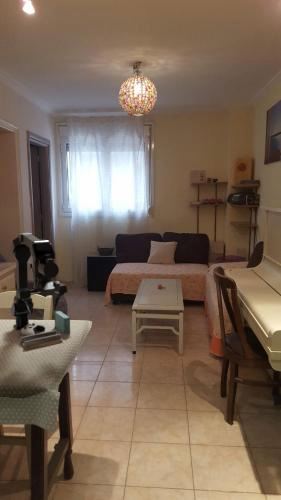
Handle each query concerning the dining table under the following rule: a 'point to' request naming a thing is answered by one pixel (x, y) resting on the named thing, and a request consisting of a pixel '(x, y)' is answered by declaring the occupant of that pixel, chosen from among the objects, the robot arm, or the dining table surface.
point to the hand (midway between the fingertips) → (43, 312)
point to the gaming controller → (31, 329)
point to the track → (40, 340)
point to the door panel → (62, 322)
